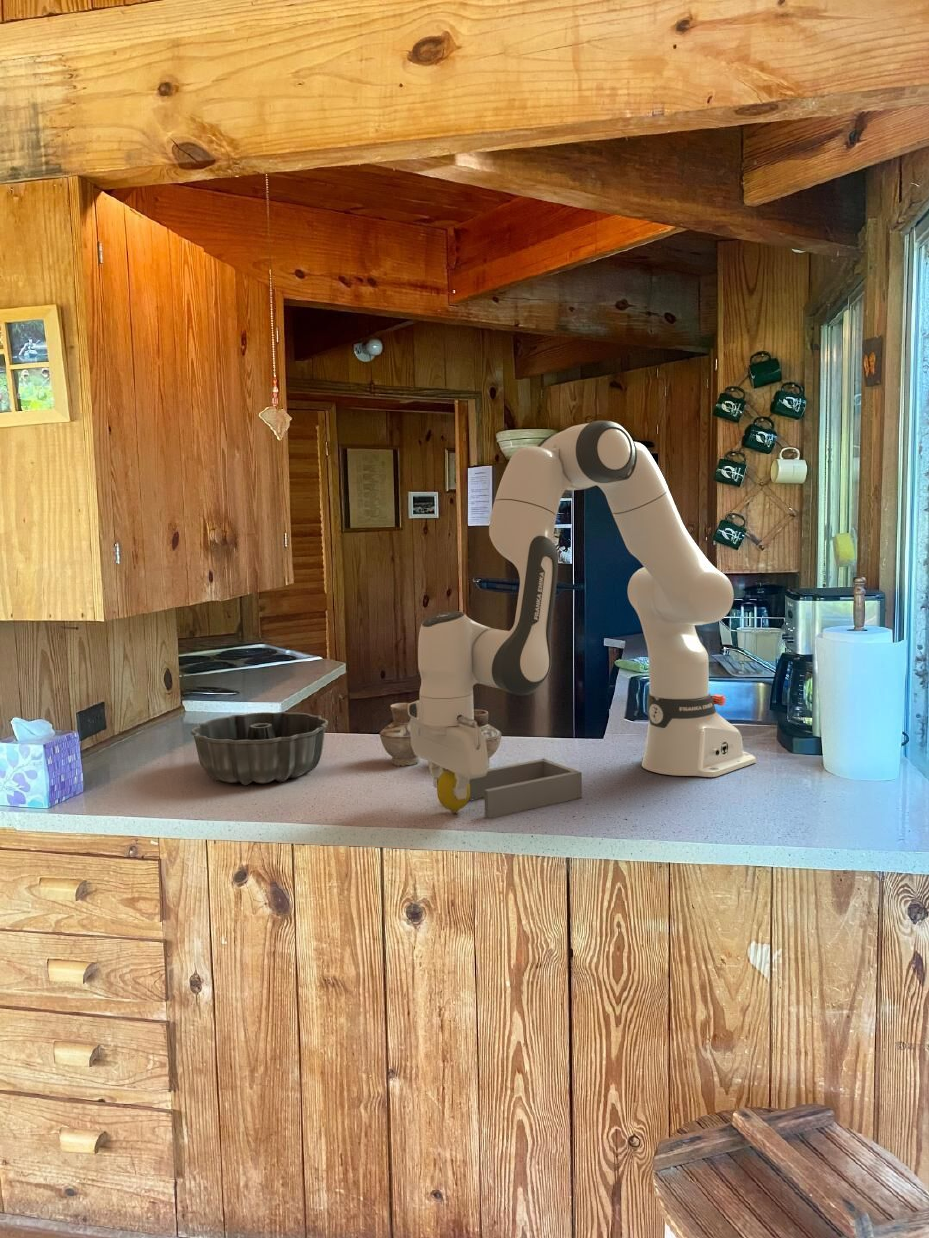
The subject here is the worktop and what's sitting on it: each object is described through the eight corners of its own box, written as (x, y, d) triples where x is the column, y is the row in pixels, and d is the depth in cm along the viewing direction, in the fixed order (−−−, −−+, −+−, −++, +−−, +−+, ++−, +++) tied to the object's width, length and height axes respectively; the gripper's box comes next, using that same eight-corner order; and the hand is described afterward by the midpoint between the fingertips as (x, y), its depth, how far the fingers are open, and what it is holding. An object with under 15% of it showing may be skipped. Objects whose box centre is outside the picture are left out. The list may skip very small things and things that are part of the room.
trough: (544, 782, 169) (543, 758, 169) (581, 797, 160) (581, 772, 159) (454, 800, 160) (453, 775, 160) (488, 818, 150) (487, 791, 150)
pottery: (390, 755, 193) (387, 699, 192) (507, 758, 188) (505, 701, 186) (372, 770, 182) (370, 710, 181) (496, 773, 177) (494, 712, 175)
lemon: (468, 818, 150) (466, 771, 149) (434, 818, 151) (433, 770, 150) (473, 808, 156) (471, 762, 155) (441, 807, 157) (439, 761, 156)
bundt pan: (324, 752, 198) (321, 706, 197) (337, 785, 173) (334, 733, 172) (197, 763, 192) (194, 716, 191) (191, 799, 166) (187, 745, 165)
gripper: (496, 719, 144) (499, 804, 145) (434, 699, 161) (437, 775, 163) (461, 724, 141) (464, 812, 142) (402, 703, 158) (405, 781, 160)
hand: (449, 792), depth 153 cm, fingers closed on lemon, 5 cm apart
